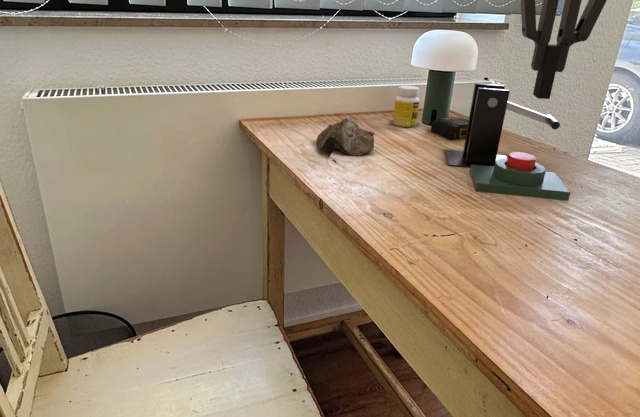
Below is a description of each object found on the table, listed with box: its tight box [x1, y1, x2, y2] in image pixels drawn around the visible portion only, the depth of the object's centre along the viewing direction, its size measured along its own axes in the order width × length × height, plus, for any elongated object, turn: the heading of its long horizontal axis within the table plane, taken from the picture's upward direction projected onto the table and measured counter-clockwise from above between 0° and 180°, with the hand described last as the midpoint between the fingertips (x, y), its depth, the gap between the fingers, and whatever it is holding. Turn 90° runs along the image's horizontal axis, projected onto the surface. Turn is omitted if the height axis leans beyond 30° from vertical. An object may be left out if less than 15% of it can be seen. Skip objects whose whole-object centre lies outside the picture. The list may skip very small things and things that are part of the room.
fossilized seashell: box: [315, 117, 375, 157], centre depth 82 cm, size 8×7×10 cm
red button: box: [506, 151, 537, 171], centre depth 68 cm, size 4×4×2 cm
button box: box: [469, 157, 571, 201], centre depth 69 cm, size 12×8×4 cm, turn 80°
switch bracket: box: [444, 82, 511, 169], centre depth 77 cm, size 10×8×13 cm
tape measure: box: [430, 116, 469, 141], centre depth 93 cm, size 7×7×4 cm
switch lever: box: [483, 87, 561, 130], centre depth 75 cm, size 12×5×2 cm, turn 80°
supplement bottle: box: [392, 85, 420, 129], centre depth 97 cm, size 5×5×8 cm
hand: (541, 96), depth 65 cm, fingers closed
